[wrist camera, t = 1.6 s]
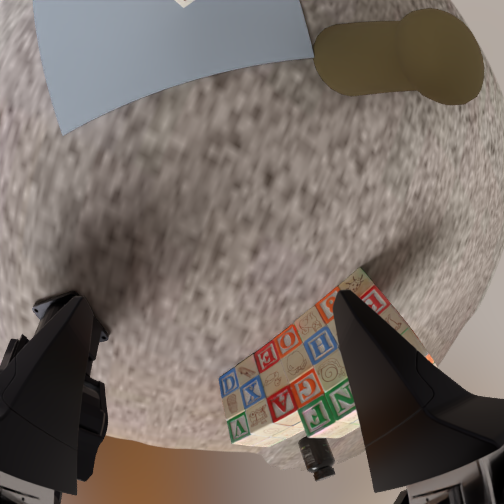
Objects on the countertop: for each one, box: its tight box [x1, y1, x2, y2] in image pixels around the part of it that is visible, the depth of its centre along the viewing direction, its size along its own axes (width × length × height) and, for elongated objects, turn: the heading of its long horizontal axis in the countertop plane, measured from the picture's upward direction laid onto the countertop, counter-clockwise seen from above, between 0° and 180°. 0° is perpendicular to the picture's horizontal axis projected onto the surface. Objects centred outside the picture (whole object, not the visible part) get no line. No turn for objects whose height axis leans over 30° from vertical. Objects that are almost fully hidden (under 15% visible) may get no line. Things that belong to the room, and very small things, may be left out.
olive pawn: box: [313, 8, 484, 105], centre depth 11 cm, size 6×6×11 cm
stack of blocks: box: [219, 267, 438, 447], centre depth 25 cm, size 21×6×12 cm, turn 134°
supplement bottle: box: [298, 437, 335, 481], centre depth 50 cm, size 7×7×12 cm
